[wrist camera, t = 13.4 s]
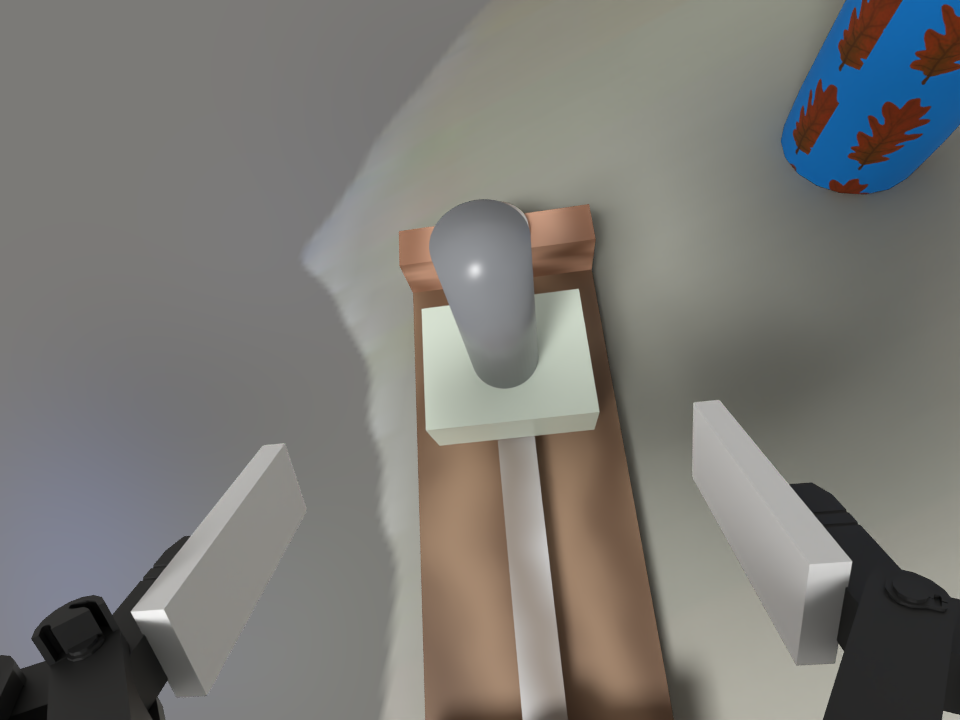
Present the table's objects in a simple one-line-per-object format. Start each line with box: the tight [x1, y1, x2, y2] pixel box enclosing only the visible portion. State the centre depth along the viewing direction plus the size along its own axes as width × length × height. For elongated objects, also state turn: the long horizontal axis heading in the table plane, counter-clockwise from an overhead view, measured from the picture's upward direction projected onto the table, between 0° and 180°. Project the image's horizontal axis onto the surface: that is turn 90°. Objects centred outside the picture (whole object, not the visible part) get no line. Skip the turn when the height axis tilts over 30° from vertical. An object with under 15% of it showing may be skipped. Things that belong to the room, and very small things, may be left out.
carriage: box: [422, 199, 600, 446], centre depth 28 cm, size 10×8×16 cm
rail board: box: [399, 201, 674, 720], centre depth 34 cm, size 14×38×7 cm, turn 4°
